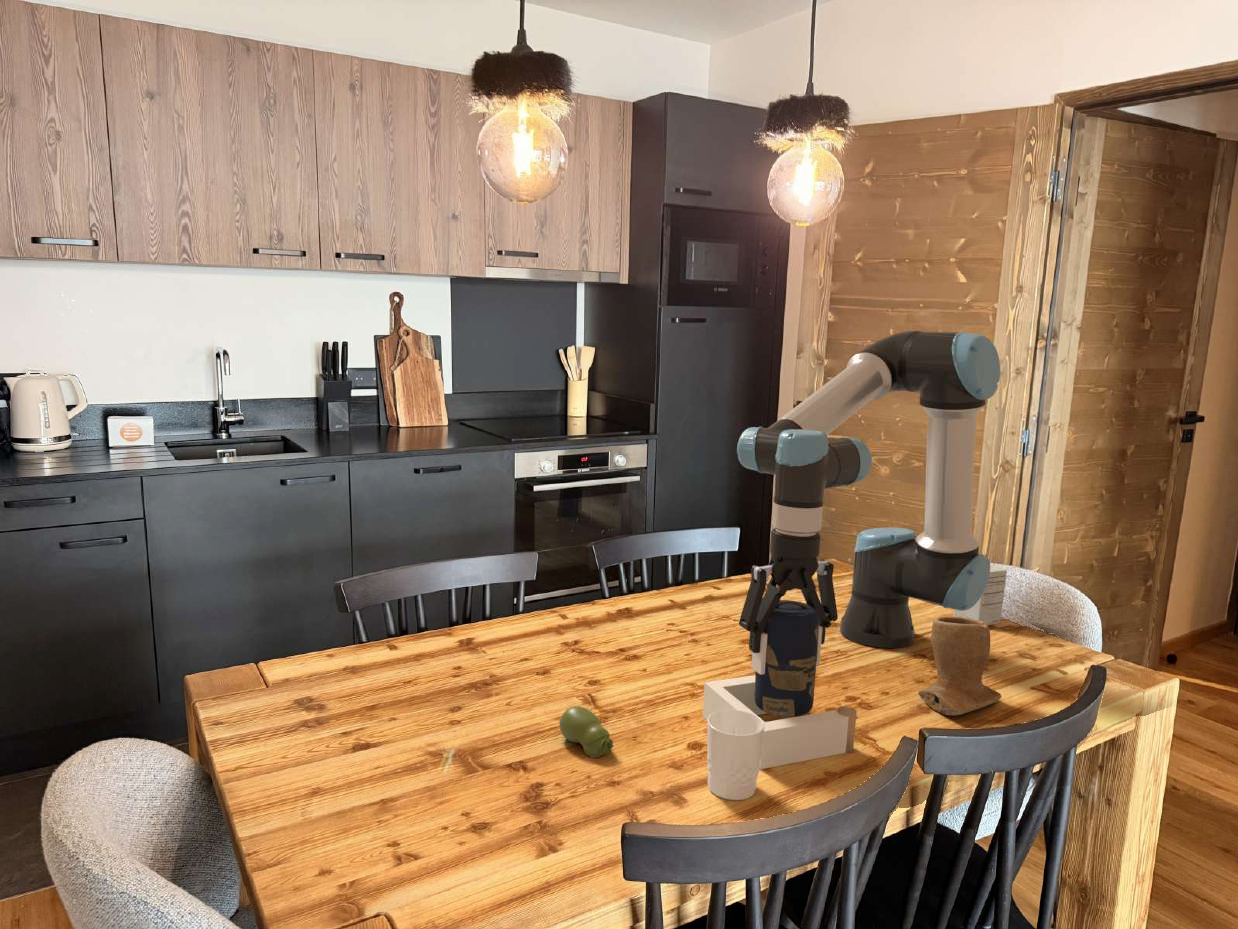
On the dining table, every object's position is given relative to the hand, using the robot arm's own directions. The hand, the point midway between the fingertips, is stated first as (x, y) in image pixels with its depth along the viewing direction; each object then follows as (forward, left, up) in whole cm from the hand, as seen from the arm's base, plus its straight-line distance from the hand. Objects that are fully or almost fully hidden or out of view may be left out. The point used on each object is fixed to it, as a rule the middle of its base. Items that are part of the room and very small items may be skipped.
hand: (785, 667), depth 138 cm
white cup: (+16, +12, -11) cm, 23 cm away
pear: (+31, -6, -11) cm, 34 cm away
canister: (0, 0, -7) cm, 7 cm away
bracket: (0, 0, -11) cm, 11 cm away
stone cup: (-36, 0, -11) cm, 38 cm away
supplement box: (-73, -32, -11) cm, 81 cm away
